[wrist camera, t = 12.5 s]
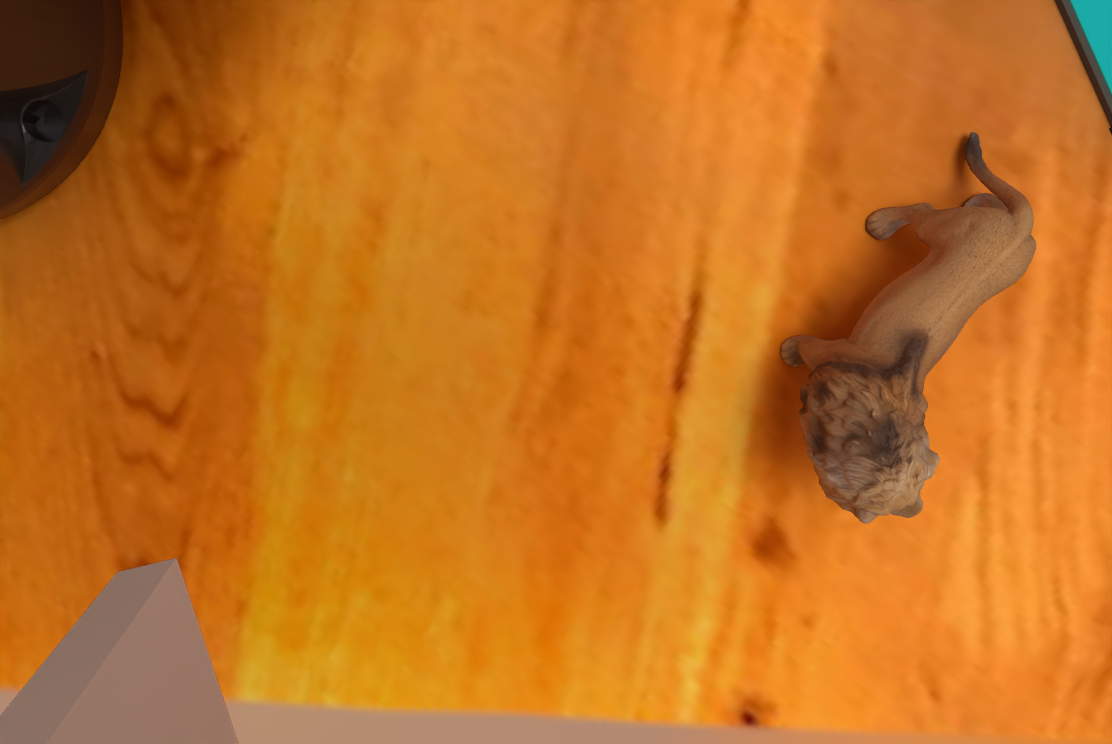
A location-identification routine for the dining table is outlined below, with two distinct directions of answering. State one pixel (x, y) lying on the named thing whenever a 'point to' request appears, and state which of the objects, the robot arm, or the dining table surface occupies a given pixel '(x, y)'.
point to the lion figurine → (906, 347)
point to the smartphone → (1092, 43)
